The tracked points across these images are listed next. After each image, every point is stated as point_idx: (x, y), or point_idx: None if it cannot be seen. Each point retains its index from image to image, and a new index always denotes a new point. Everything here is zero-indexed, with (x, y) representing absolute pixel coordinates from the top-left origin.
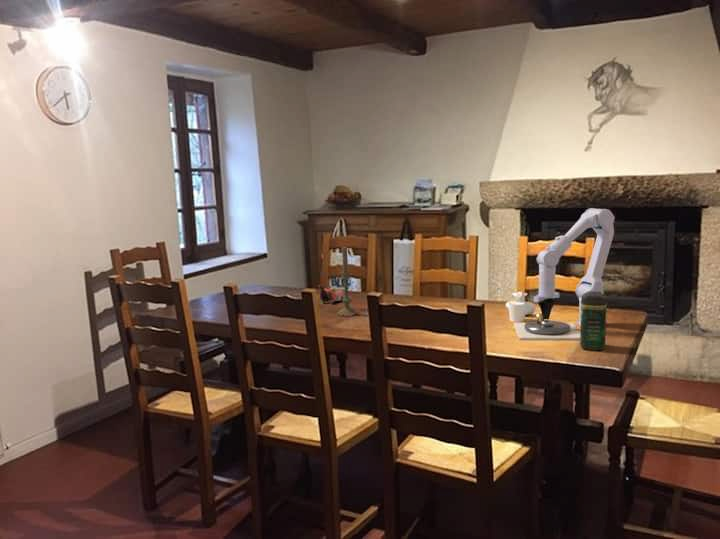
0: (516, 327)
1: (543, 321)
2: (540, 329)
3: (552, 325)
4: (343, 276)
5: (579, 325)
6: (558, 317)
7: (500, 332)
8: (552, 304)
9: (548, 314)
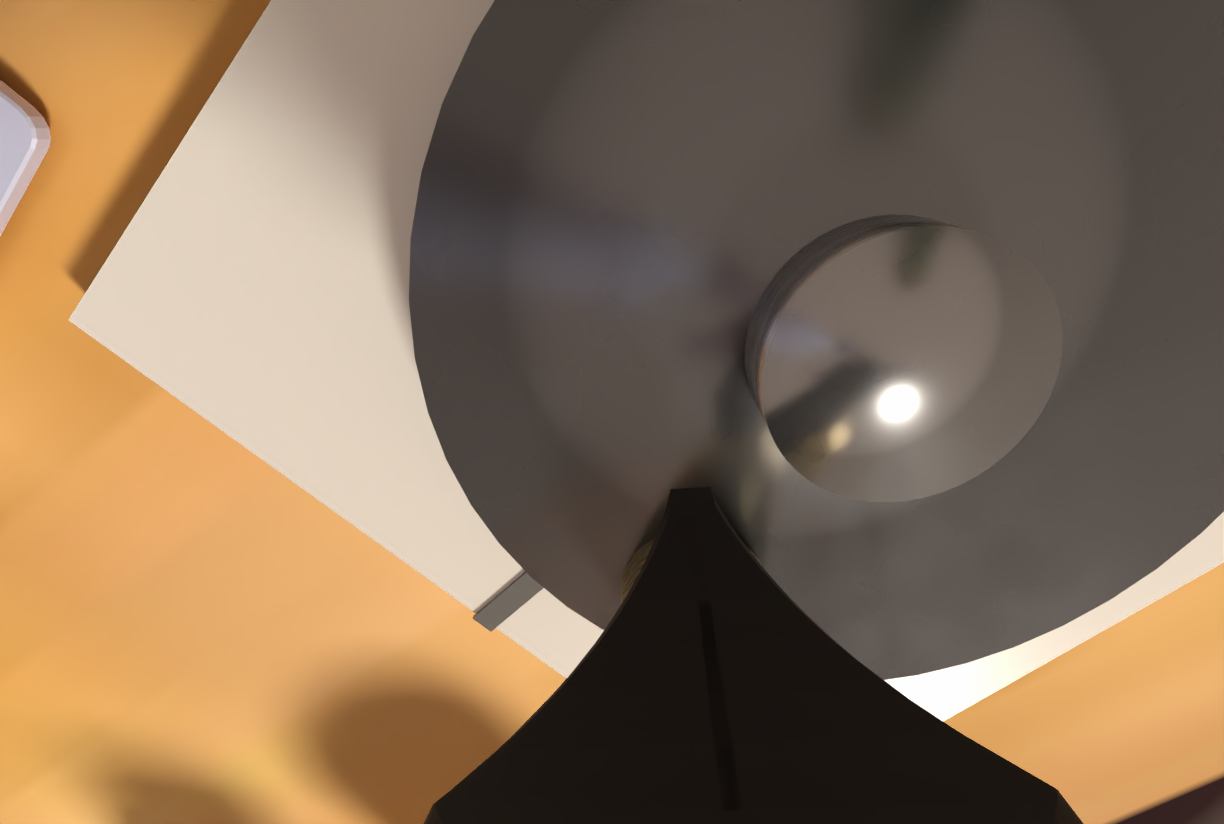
0: (970, 694)
1: (955, 435)
2: None
3: (891, 219)
4: None
5: (33, 169)
6: (7, 696)
7: (1209, 705)
8: (658, 751)
9: (740, 539)
